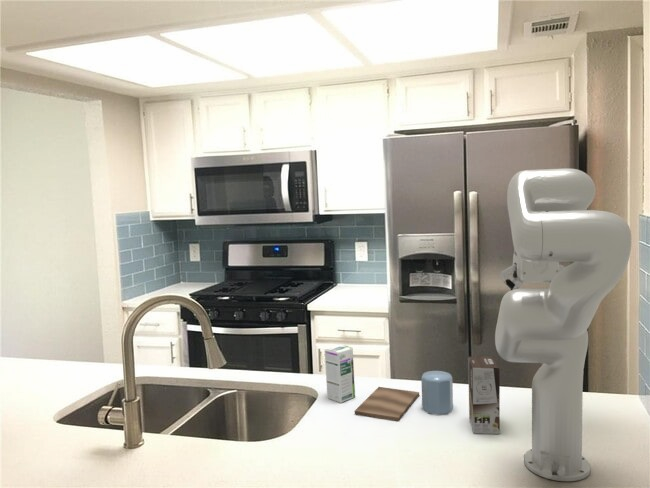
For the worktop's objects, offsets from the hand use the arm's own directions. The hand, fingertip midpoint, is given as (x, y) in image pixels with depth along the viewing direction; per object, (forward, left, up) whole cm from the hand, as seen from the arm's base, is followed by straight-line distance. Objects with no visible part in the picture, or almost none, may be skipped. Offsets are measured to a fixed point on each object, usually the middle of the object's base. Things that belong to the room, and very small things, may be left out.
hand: (534, 304), depth 134 cm
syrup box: (-6, +51, -29) cm, 59 cm away
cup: (-4, +24, -29) cm, 37 cm away
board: (-6, +37, -29) cm, 47 cm away
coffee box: (-10, +11, -29) cm, 32 cm away
